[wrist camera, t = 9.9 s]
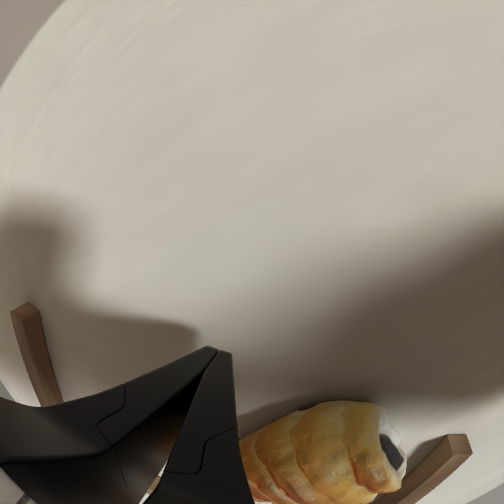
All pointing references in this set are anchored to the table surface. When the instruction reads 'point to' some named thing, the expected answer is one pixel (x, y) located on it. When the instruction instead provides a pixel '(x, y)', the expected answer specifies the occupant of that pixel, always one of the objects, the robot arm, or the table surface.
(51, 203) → the table surface
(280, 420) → the pastry
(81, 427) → the robot arm
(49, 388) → the walnut frame
